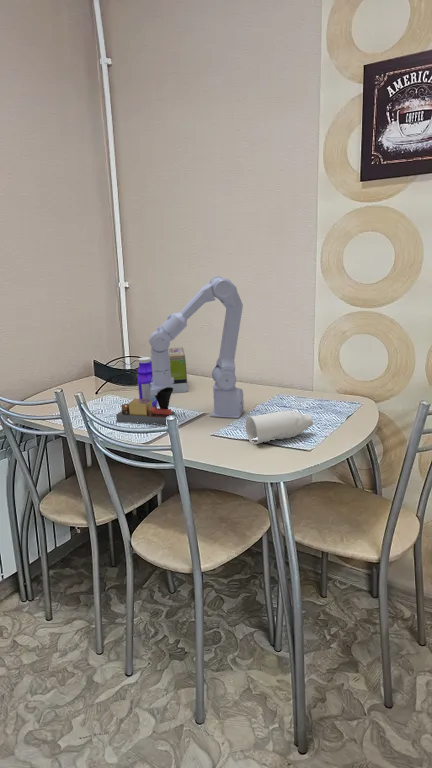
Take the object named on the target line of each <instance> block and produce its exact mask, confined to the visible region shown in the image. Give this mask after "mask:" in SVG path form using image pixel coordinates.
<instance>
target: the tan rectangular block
mask: <svg viewBox="0 0 432 768" xmlns="http://www.w3.org/2000/svg"><path fill="white" fill-rule="evenodd" d="M128 404H129V411H130V415H143V416H147V415H149V414H150V413H151V407H152V400H151V399H139V398H134V399H131V401H129V402H128Z"/></svg>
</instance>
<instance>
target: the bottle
mask: <svg viewBox="0 0 432 768" xmlns="http://www.w3.org/2000/svg"><path fill="white" fill-rule="evenodd" d="M136 371H137V373H138V375H137V386H138V387H137V388H138V389H137V390H138V399H151V400H152V407H157V404H158V401H157V399H156V397H155V396H154V395H150V389H151V388H152V385H150V383H151V382H153V375H152V362H151V356H141V357H139V358H138V369H137V370H136Z"/></svg>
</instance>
